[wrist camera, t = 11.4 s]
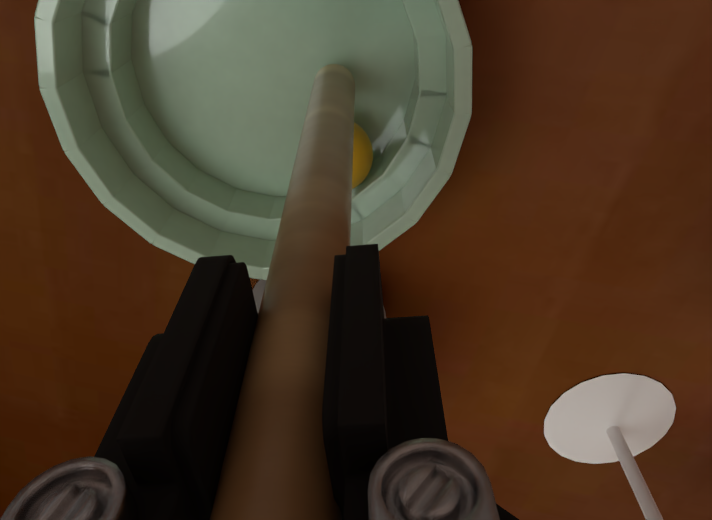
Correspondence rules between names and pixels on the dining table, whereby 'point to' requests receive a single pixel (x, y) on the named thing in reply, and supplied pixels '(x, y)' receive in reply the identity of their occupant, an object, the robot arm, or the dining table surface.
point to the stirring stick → (295, 329)
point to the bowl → (249, 110)
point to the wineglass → (612, 425)
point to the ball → (361, 155)
